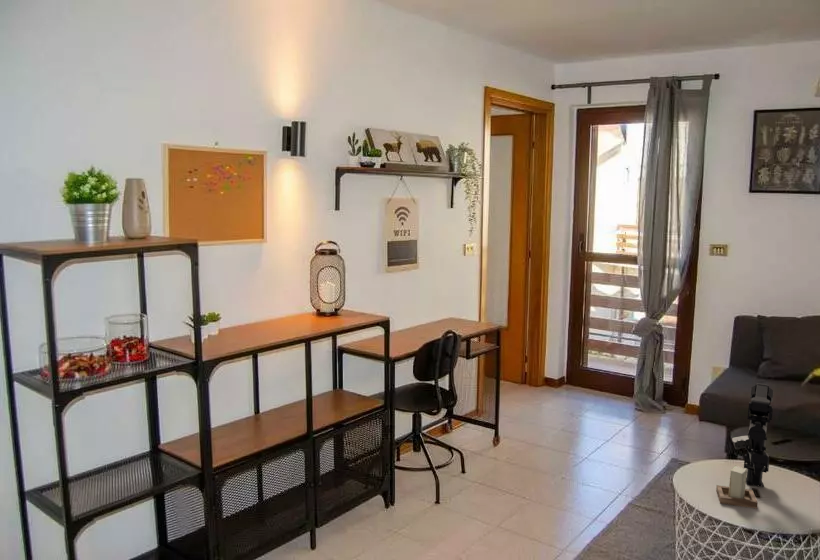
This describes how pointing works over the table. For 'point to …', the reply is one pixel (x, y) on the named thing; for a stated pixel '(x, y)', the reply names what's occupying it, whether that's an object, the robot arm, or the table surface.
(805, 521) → the table surface
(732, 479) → the skincare box
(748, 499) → the walnut holder
